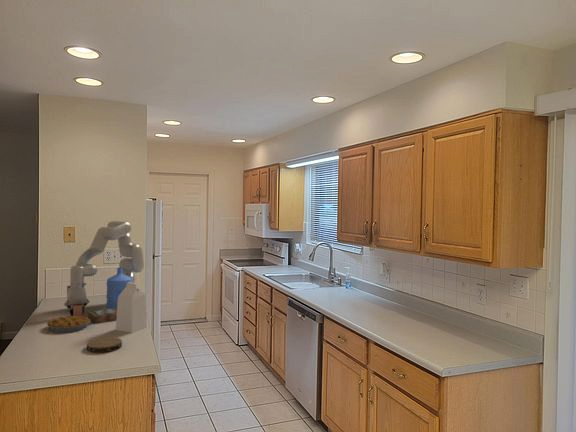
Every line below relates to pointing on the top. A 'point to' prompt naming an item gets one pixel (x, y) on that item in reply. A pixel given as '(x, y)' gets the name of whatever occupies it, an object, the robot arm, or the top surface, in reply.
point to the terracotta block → (77, 310)
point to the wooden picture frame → (103, 315)
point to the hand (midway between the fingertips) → (76, 314)
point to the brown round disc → (104, 345)
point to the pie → (68, 323)
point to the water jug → (116, 288)
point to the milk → (131, 309)
